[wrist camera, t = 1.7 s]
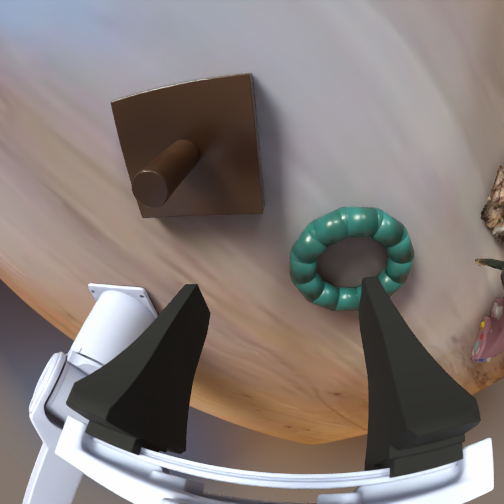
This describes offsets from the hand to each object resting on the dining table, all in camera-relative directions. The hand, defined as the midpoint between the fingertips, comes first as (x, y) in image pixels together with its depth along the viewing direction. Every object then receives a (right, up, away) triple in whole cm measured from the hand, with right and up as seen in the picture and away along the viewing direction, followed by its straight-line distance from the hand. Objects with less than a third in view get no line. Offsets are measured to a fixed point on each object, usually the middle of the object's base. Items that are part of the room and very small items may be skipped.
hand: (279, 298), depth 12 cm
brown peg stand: (-5, +9, +5) cm, 11 cm away
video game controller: (+27, -5, +11) cm, 29 cm away
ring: (+6, +1, +8) cm, 10 cm away
